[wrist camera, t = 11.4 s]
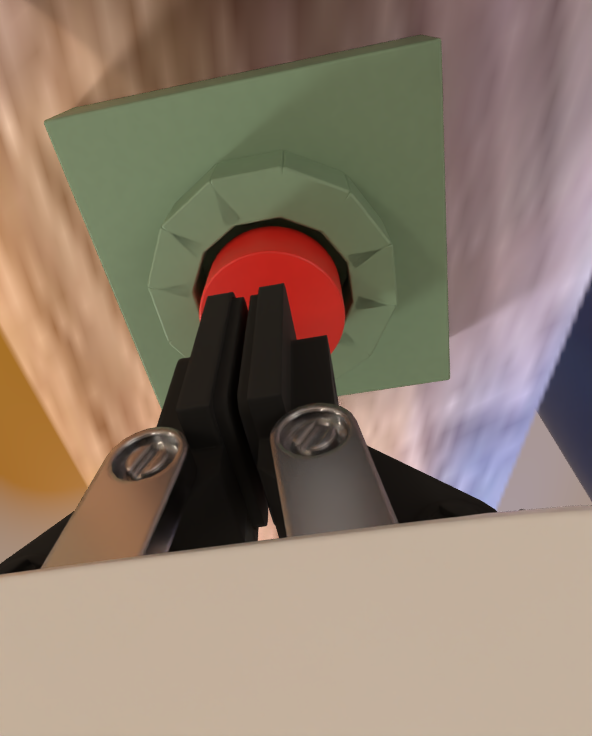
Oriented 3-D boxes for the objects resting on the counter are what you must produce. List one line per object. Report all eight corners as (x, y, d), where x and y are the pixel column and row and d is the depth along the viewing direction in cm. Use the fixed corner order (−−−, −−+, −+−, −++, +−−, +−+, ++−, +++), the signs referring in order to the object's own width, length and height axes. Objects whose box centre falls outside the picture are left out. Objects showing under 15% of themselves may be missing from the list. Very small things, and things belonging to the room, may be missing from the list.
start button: (329, 213, 13) (334, 238, 12) (347, 335, 15) (353, 369, 14) (191, 238, 14) (179, 266, 12) (226, 354, 16) (220, 389, 14)
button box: (422, 34, 14) (462, 40, 11) (435, 346, 20) (464, 413, 16) (71, 107, 15) (10, 134, 12) (177, 386, 21) (155, 457, 17)
